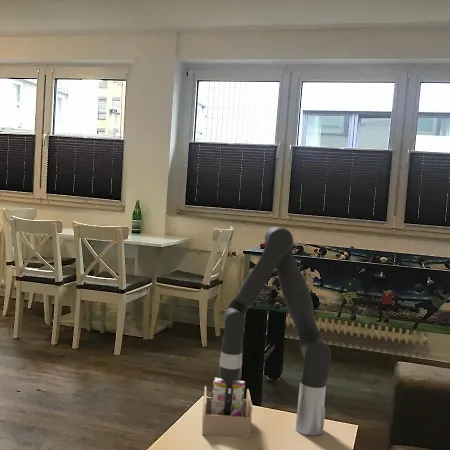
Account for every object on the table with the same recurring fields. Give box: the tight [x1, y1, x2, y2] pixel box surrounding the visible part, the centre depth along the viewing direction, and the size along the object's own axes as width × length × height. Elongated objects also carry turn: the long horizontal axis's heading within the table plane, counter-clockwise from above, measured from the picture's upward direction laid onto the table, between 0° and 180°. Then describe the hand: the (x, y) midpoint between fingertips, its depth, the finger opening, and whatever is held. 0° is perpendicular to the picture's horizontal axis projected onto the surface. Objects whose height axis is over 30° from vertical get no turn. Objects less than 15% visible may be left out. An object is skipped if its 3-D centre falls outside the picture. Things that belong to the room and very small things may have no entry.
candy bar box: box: [210, 377, 246, 417], centre depth 200 cm, size 11×5×16 cm, turn 84°
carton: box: [201, 385, 253, 439], centre depth 200 cm, size 16×16×11 cm
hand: (226, 410), depth 200 cm, fingers open, 7 cm apart
